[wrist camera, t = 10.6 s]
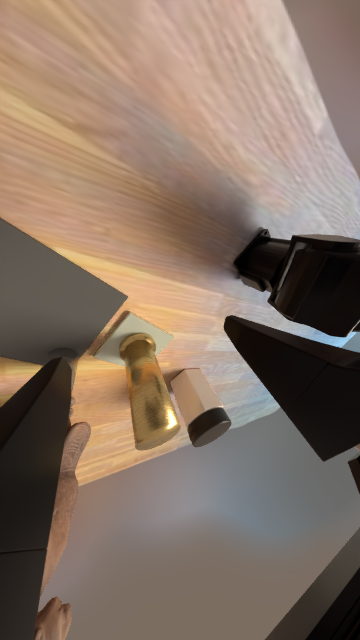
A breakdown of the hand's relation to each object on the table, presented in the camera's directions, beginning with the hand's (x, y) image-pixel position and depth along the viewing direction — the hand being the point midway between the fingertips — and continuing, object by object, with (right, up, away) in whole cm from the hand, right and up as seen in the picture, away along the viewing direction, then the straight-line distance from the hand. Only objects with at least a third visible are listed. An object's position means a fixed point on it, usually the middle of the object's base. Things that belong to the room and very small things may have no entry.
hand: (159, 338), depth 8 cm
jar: (+3, -13, +28) cm, 31 cm away
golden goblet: (-6, -3, +16) cm, 17 cm away
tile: (-6, -3, +16) cm, 18 cm away
